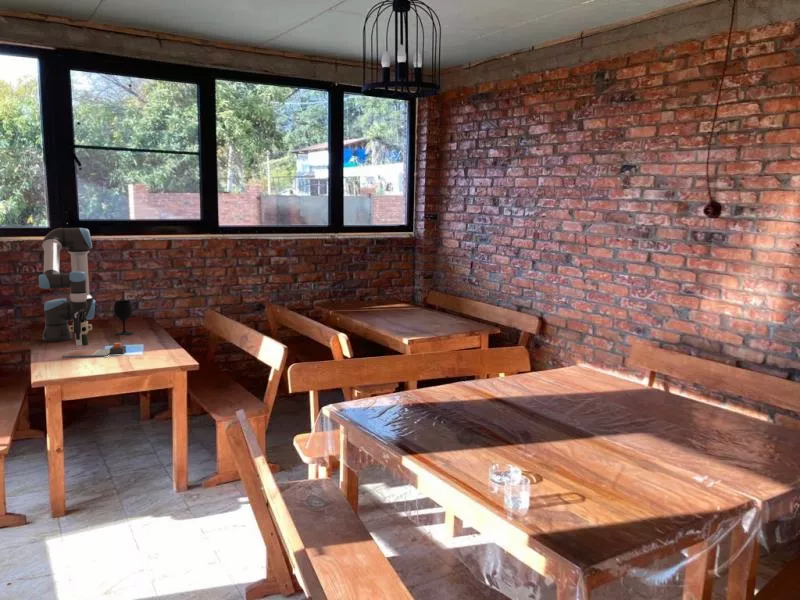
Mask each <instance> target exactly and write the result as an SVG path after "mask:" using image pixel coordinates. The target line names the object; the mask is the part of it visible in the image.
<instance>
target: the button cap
mask: <svg viewBox="0 0 800 600" xmlns="http://www.w3.org/2000/svg"><path fill="white" fill-rule="evenodd" d="M112 345H113V346H114V348H122V346H123V342H114V343H113V344H112Z"/></svg>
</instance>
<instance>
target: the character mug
mask: <svg viewBox="0 0 800 600" xmlns="http://www.w3.org/2000/svg"><path fill="white" fill-rule="evenodd" d="M68 326H69V331H70V332H71V333H73V332H74V323H73V322H72V325H68ZM92 330H93V325H92V323H89V321H88V320H87V321H84V322H82V323H81V335H82V346H87V345H89V340H88V335H87V334H88V333H89V331H92ZM73 334H74V335H75V333H73ZM74 337H75V339H74V345H75V346H76V336H74Z"/></svg>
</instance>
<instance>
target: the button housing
mask: <svg viewBox="0 0 800 600" xmlns="http://www.w3.org/2000/svg"><path fill="white" fill-rule="evenodd" d="M109 349H110V354H123V355H125V354H126V353H127V346H126V345H122V348H114V345H113V346H111V347H110V348H109Z"/></svg>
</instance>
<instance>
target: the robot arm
mask: <svg viewBox="0 0 800 600" xmlns="http://www.w3.org/2000/svg"><path fill="white" fill-rule="evenodd" d="M41 244H42V245H41V246H42V249H43V273H42V274H39V276H38V286H39V288H40V289H46V290H47V289H48V290H49V289H70V294H69V297H70V300H67V298H65V297H64V298H55V299H51V300H47V301H45V302H44V304H43V305H44V306H43V311H44V324H45V325H44V330H43V334H42V341H44V342H62V341H68V340H71V339H73V334H74V333H75V334H74V335H75V336H74V337H76V345H75V347H81V346H83V345H82V335H81V323H82V322H84V321H88V320H92V319H94V317H95V312H96V311H95V309H96V299H95V298H94V299H93V296H92V295H91V294H90V282H89V280H90V279H89V263H88V261H89V260H88V254H89V253H90V252H91V249H93V243H92V238H91V233H90V230H89V229H88V228H84V227H58V228H55V229H52V230H51V231H49V232H48V233H47V234H46V235H45V236H44V238H43V240H42V243H41ZM62 249H67V253H69V255H70V263H71V271H70V272H69V273H61V272H60V263H61V262H60V261H61V256H60V255H61V253H60V252H61V250H62ZM69 321H70V322H71V321H73V322H72V324H73V323H74V332H70V331H69V326H70V325H69Z"/></svg>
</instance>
